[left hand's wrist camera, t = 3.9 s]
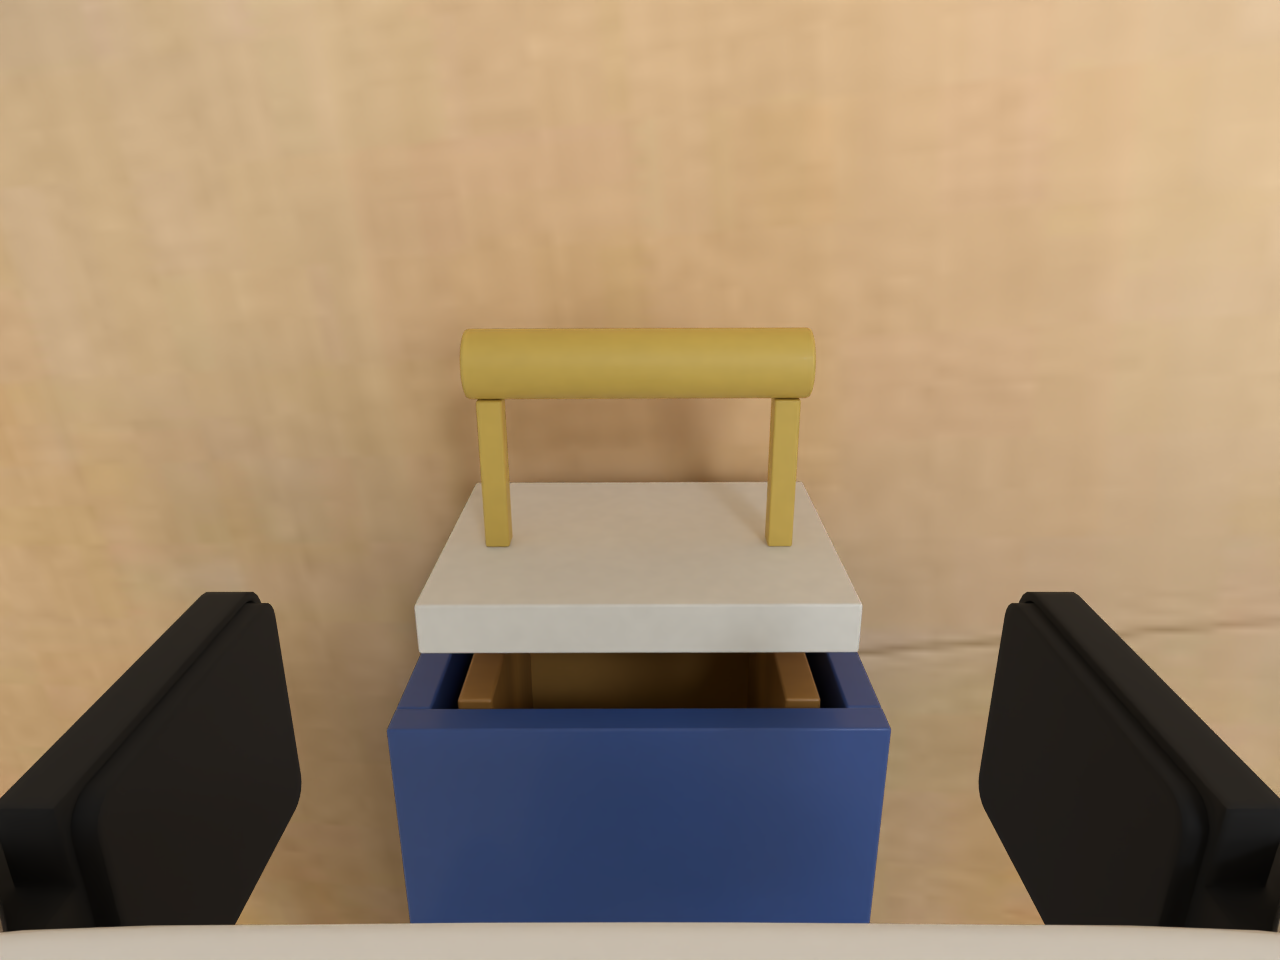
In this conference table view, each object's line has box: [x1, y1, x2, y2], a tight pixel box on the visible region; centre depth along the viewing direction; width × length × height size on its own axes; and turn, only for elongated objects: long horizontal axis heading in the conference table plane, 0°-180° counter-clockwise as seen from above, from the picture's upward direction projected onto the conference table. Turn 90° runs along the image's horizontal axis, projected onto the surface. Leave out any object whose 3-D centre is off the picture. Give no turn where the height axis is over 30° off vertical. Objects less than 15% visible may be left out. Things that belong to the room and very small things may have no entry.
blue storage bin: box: [387, 652, 891, 923], centre depth 27 cm, size 19×11×9 cm, turn 0°
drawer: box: [414, 328, 863, 709], centre depth 25 cm, size 24×10×8 cm, turn 0°
